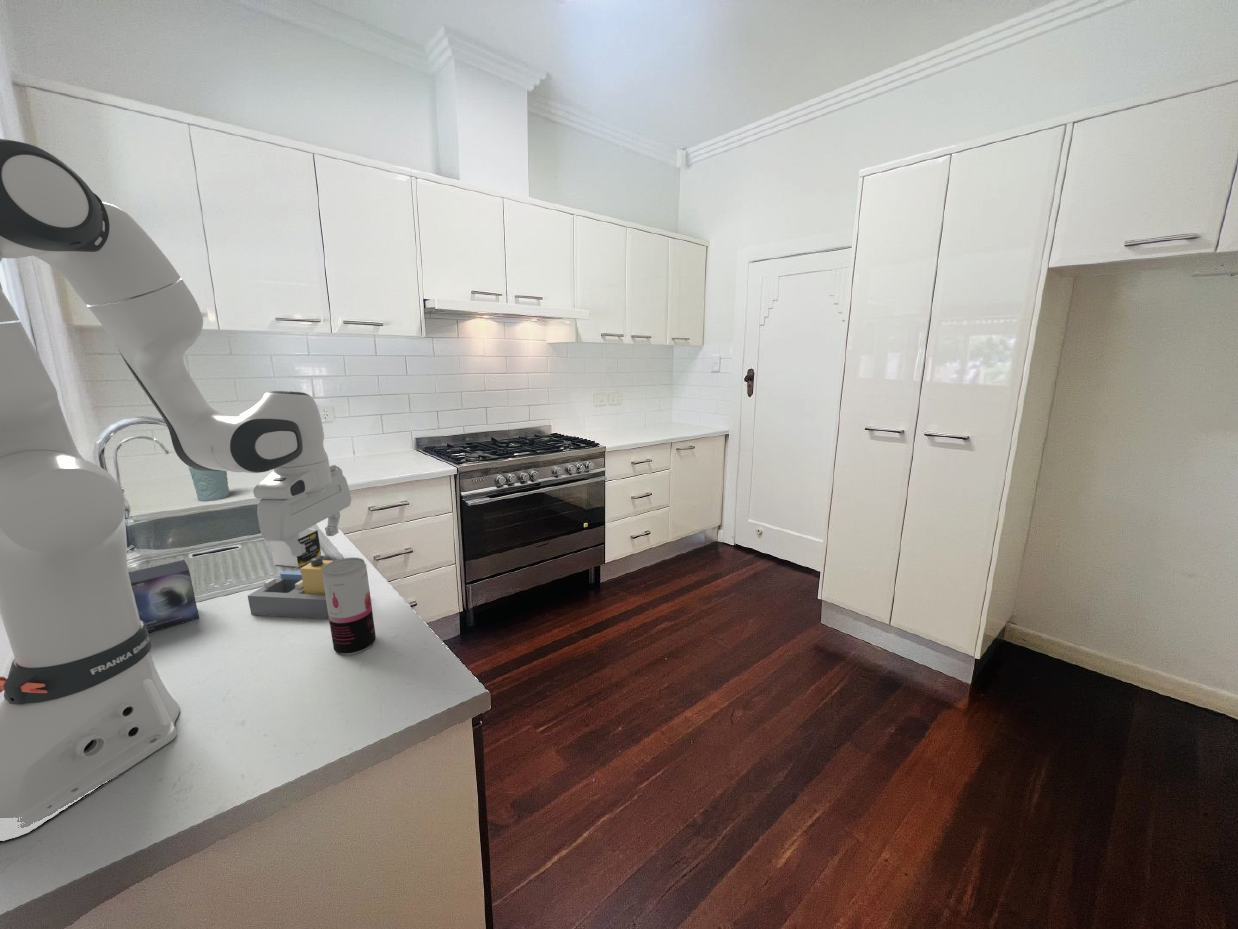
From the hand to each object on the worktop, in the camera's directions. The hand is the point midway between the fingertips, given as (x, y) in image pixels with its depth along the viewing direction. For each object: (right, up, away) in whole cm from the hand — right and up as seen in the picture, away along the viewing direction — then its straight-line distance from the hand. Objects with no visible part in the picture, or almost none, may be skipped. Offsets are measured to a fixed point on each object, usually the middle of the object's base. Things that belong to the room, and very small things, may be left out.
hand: (316, 544), depth 98 cm
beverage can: (+13, -16, -11) cm, 23 cm away
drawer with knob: (0, -13, +2) cm, 13 cm away
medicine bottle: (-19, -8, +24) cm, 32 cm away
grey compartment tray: (-4, -13, +3) cm, 14 cm away
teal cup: (-82, +4, +76) cm, 112 cm away
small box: (-27, -15, -3) cm, 31 cm away
